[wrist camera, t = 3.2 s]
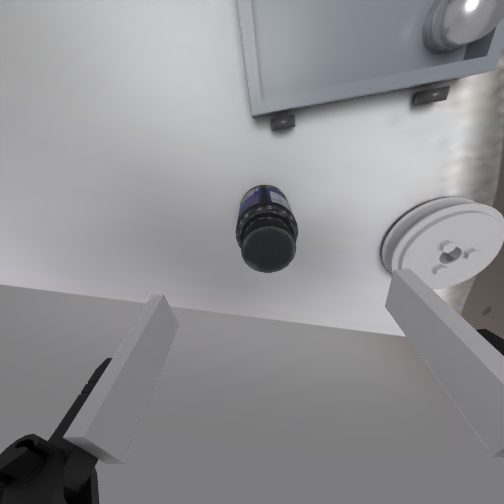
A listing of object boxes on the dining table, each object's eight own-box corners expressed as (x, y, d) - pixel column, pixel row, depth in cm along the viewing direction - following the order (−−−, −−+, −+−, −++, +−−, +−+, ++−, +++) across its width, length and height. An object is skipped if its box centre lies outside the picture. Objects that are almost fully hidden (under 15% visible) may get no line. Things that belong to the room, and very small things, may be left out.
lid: (489, 241, 29) (529, 261, 25) (400, 287, 34) (420, 310, 29) (461, 172, 24) (505, 182, 20) (362, 237, 29) (380, 256, 25)
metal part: (416, 58, 18) (443, 47, 15) (430, -10, 16) (463, -36, 13) (466, 48, 18) (501, 35, 15) (486, -23, 16) (531, -52, 13)
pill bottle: (244, 231, 29) (238, 282, 19) (236, 187, 25) (224, 222, 16) (288, 226, 28) (304, 276, 19) (286, 180, 25) (304, 212, 15)
